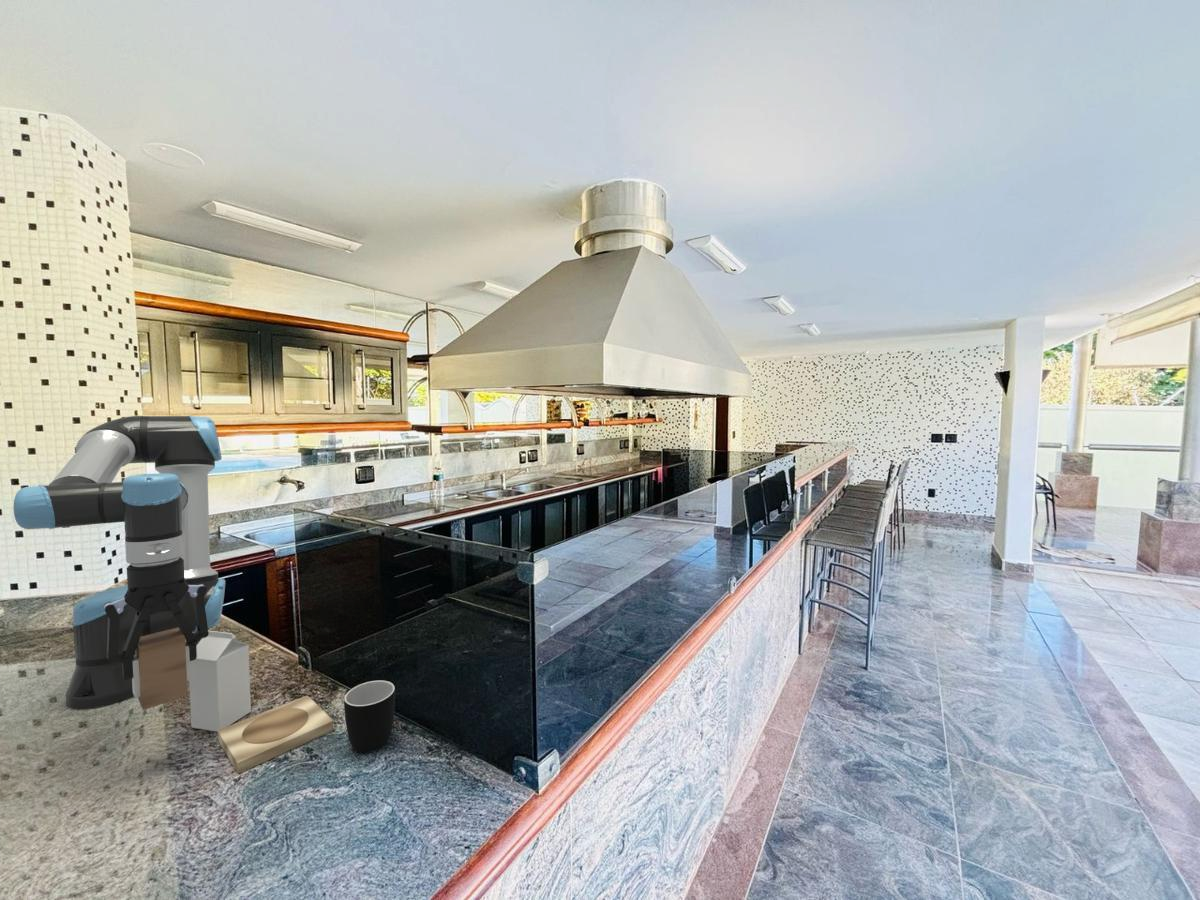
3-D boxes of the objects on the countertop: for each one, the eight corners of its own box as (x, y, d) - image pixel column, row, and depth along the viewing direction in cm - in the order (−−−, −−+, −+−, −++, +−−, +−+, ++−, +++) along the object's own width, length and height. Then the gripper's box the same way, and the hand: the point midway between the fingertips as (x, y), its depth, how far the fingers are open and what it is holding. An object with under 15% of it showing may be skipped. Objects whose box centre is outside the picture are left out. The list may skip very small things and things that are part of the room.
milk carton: (219, 733, 97) (215, 641, 96) (190, 728, 98) (186, 637, 97) (251, 712, 104) (248, 626, 103) (224, 708, 105) (220, 623, 104)
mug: (405, 737, 96) (404, 687, 96) (364, 764, 88) (362, 711, 88) (368, 718, 102) (367, 671, 102) (326, 742, 94) (324, 692, 94)
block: (137, 697, 87) (134, 638, 86) (181, 683, 92) (178, 627, 91) (142, 710, 83) (139, 648, 82) (187, 695, 88) (184, 636, 87)
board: (217, 740, 95) (217, 729, 95) (307, 703, 107) (307, 694, 107) (238, 773, 86) (237, 762, 86) (333, 730, 98) (333, 719, 98)
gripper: (78, 578, 76) (87, 719, 78) (227, 553, 91) (232, 672, 92) (75, 568, 81) (84, 701, 82) (217, 546, 96) (222, 659, 97)
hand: (162, 685), depth 87 cm, fingers closed on block, 6 cm apart
